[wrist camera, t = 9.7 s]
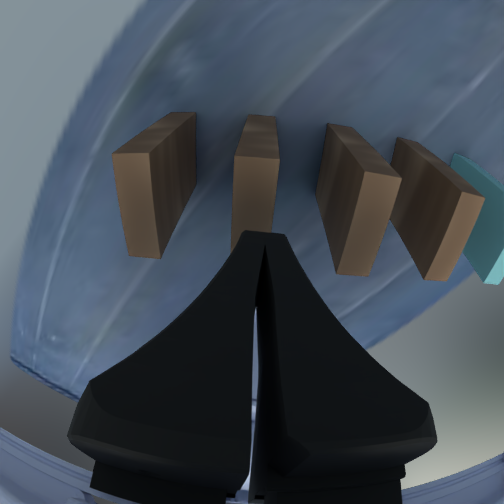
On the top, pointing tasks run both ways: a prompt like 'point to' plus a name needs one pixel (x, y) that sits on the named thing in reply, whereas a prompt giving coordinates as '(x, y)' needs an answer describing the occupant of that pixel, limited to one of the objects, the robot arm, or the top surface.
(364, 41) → the top surface
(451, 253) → the domino
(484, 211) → the domino
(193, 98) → the top surface
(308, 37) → the top surface
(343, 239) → the domino
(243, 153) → the domino
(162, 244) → the domino
